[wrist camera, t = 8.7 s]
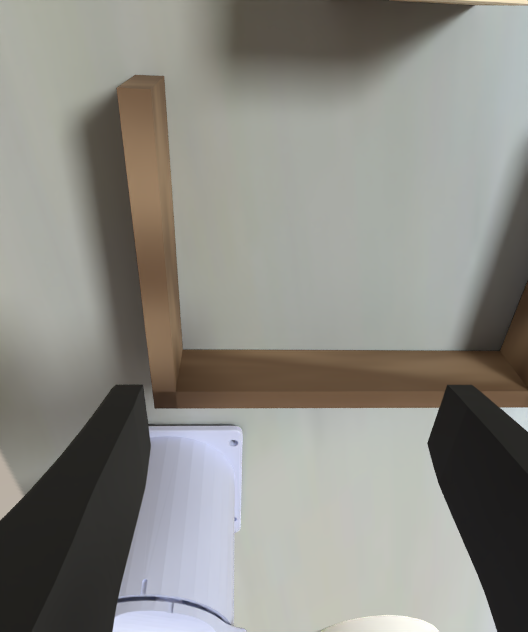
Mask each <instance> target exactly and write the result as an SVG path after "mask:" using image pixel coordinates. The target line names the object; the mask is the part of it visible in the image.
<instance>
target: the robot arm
mask: <svg viewBox="0 0 528 632" xmlns="http://www.w3.org/2000/svg"><path fill="white" fill-rule="evenodd" d="M242 437H243V434H242V429H241V428H240V427H238V426H148V419H147V412H146V404H145V397H144V389H143V385H115V386H114V387H113V388H112V389H111V390H110V392H109V393H108V395H107V396H106V397H105V399H104V400H103V402H102V403H101V404H100V406H99V407H98V409H97V410H96V411H95V413H94V414H93V415H92V417H91V418H90V419H89V421H88V422H87V423H86V425H85V426H84V427H83V429H82V430H81V431H80V432H79V434H78V435H77V436H76V437H75V439H74V440H73V441H72V442H71V443H70V445H69V446H68V447H67V448H66V450H65V451H64V452H63V453H62V455H61V456H60V457H59V458H58V459H57V460H56V462H55V463H54V464H53V465H52V466H51V467H50V468H49V470H48V471H47V472H46V473H45V474H44V475H43V476H42V477H41V478H40V480H39V481H38V482H37V483H36V484H35V485H34V486H33V487H32V489H31V490H30V491H29V492H28V493H27V494H26V495H25V496H24V497H23V498H22V499H21V500H20V501H19V502H18V503H17V504H16V505H15V507H13V508H12V509H11V510H10V512H8V513H7V515H6V516H4V518H2V519H1V520H0V632H247V630H246V629H244V628H238V627H234V533H235V532H238V531H239V530H240V528H241V483H242ZM231 440H236V441H231ZM427 444H428V448H429V451H430V455H431V459H432V463H433V466H434V470H435V473H436V476H437V479H438V483H439V485H440V488H441V490H442V493H443V495H444V498H445V500H446V502H447V505H448V507H449V509H450V512H451V514H452V516H453V519H454V521H455V523H456V526H457V528H458V530H459V533H460V535H461V537H462V540H463V542H464V544H465V547H466V549H467V551H468V553H469V556H470V558H471V560H472V563H473V565H474V567H475V570H476V572H477V574H478V577H479V579H480V582H481V585H482V587H483V590H484V592H485V595H486V598H487V601H488V604H489V607H490V610H491V613H492V616H493V620H494V623H495V626H496V629H497V632H528V432H527V431H526V430H525V429H524V428H522V427H521V426H520V425H519V424H518V423H517V422H516V421H514V420H513V419H512V418H511V417H510V416H509V415H507V414H506V413H505V412H504V411H503V410H502V409H500V408H499V407H498V406H497V405H496V404H495V403H494V402H492V401H491V400H490V399H489V398H488V397H486V396H485V395H484V394H483V393H482V392H481V391H479V390H478V389H477V388H476V387H474V386H473V385H447V387H446V390H445V393H444V396H443V399H442V402H441V405H440V408H439V411H438V414H437V417H436V419H435V422H434V425H433V428H432V431H431V434H430V437H429V440H428V443H427Z"/></svg>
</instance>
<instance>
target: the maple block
mask: <svg viewBox="0 0 528 632" xmlns="http://www.w3.org/2000/svg"><path fill="white" fill-rule="evenodd" d="M391 1H409V2H427V3H445V4H463V5H528V0H391Z"/></svg>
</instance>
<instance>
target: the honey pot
mask: <svg viewBox="0 0 528 632" xmlns="http://www.w3.org/2000/svg"><path fill="white" fill-rule="evenodd" d="M319 632H439V631H438V630H437V629H436V628H435V627H434V626H433V625H432V624H430V623H427V622H425V621H423V620H421V619H416V618H412V617H407V616H394V615H380V616H367V617H361V618H356V619H351V620H346V621H343V622H341V623H338V624H335V625H332V626H329V627H327V628H325V629H323V630H321V631H319Z"/></svg>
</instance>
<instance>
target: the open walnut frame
mask: <svg viewBox="0 0 528 632" xmlns="http://www.w3.org/2000/svg"><path fill="white" fill-rule="evenodd" d="M117 96H118V104H119V113H120V121H121V130H122V138H123V146H124V155H125V163H126V172H127V180H128V188H129V197H130V205H131V214H132V222H133V230H134V239H135V247H136V256H137V264H138V272H139V281H140V289H141V298H142V306H143V314H144V323H145V331H146V340H147V348H148V357H149V365H150V373H151V382H152V390H153V399H154V407H155V408H440V405H441V402H442V399H443V396H444V393H445V390H446V387H447V385H473V386H474V387H476V388H477V389H478V390H479V391H481V392H482V393H483V394H484V395H485V396H486V397H488V398H489V399H490V400H491V401H492V402H494V403H495V404H496V405H497V406H498V407H528V281H527V284H526V286H525V289H524V292H523V294H522V297H521V299H520V302H519V304H518V307H517V309H516V312H515V314H514V317H513V319H512V322H511V324H510V327H509V329H508V332H507V335H506V337H505V340H504V342H503V345H502V347H501V350H500V351H380V350H183V347H182V332H181V318H180V303H179V288H178V274H177V259H176V244H175V229H174V215H173V200H172V185H171V171H170V156H169V141H168V127H167V112H166V97H165V82H164V76H148V75H134V76H133V77H131V78H130V79H129V80H127V81H126V82H124V83H123V84H121V85H120V86H118V87H117Z"/></svg>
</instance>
